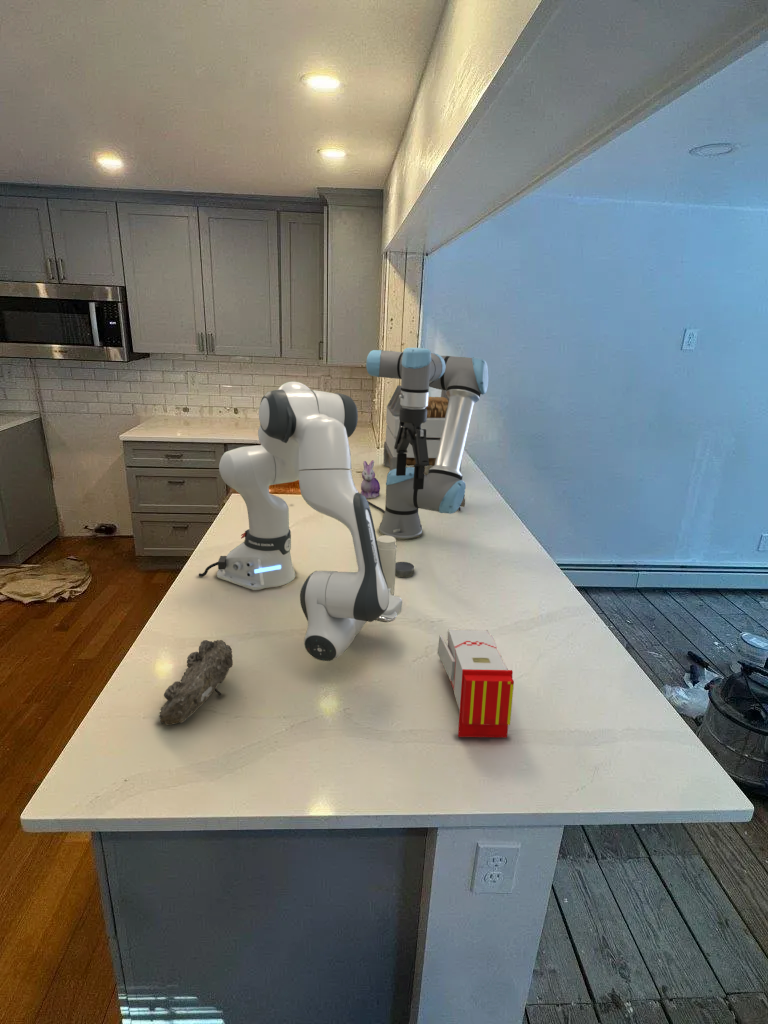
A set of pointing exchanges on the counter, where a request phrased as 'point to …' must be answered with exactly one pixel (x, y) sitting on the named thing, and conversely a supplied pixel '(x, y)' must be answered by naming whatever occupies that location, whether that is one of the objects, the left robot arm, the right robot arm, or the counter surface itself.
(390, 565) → the jar
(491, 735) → the toy
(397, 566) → the lid
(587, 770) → the counter surface
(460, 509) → the figurine character
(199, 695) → the fossil
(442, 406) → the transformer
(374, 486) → the figurine
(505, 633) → the counter surface
